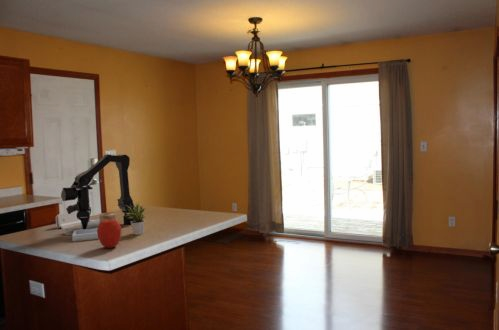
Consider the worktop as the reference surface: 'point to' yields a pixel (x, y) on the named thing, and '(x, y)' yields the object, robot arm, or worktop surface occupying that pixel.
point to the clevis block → (102, 217)
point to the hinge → (67, 220)
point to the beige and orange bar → (92, 224)
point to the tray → (85, 234)
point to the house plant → (137, 219)
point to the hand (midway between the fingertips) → (85, 227)
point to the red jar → (109, 233)
